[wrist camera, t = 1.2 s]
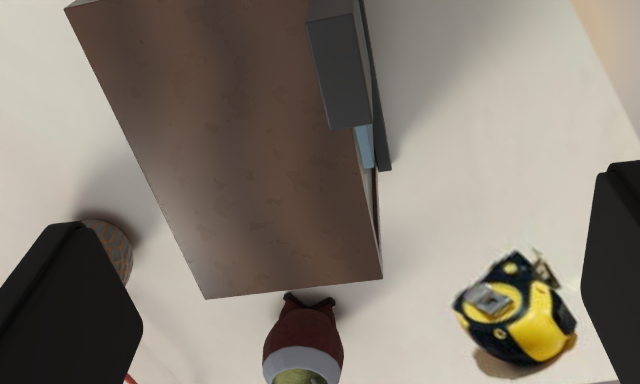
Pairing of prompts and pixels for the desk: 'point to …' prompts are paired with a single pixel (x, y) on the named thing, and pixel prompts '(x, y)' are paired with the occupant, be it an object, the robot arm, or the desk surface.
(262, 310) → the desk surface
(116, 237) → the vase
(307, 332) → the mate gourd
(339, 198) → the cabinet
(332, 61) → the sliding door
